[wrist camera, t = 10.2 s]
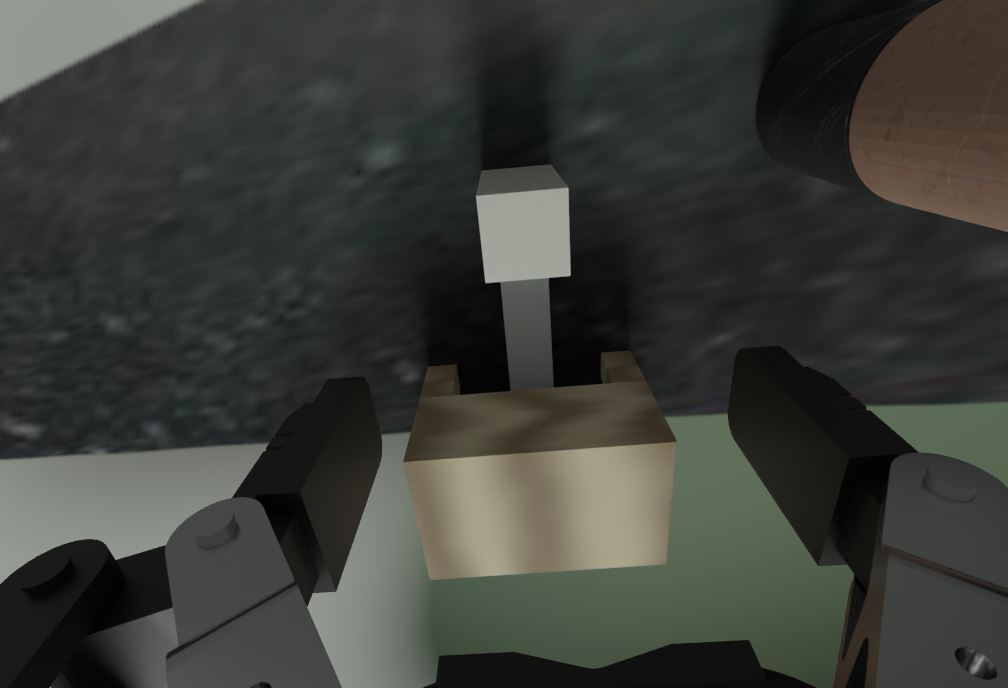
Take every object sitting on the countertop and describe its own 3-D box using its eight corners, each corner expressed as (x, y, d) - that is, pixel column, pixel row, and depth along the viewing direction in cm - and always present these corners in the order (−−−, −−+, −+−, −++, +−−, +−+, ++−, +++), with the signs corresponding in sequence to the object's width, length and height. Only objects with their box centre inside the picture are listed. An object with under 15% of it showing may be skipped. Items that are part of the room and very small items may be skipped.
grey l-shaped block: (481, 170, 28) (476, 195, 21) (550, 164, 28) (568, 187, 21) (506, 413, 36) (507, 491, 29) (560, 409, 36) (575, 486, 29)
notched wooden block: (630, 350, 34) (677, 441, 25) (626, 453, 38) (665, 564, 29) (427, 366, 34) (403, 462, 25) (445, 466, 38) (429, 579, 29)
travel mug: (720, 119, 27) (1138, 166, 10) (834, -17, 25) (1722, -311, 7) (809, 202, 29) (1288, 366, 12) (923, 84, 27) (1781, 64, 9)
